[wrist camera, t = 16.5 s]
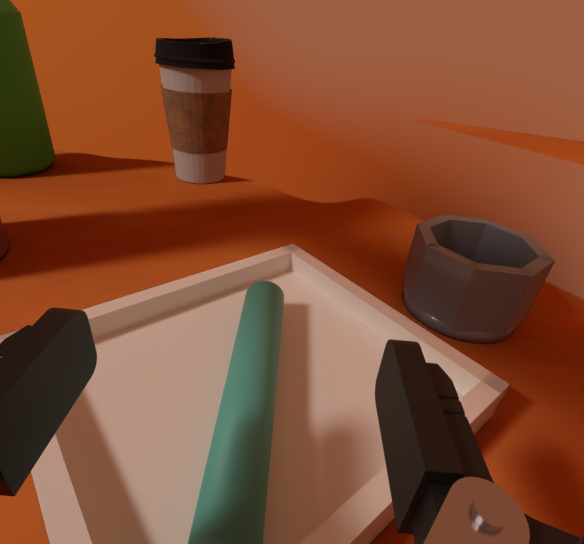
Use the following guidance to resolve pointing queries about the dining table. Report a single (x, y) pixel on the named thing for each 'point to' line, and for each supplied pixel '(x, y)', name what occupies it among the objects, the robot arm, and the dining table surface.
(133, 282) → the dining table surface
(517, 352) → the dining table surface
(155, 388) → the tray
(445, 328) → the cup
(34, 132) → the bottle
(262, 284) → the green rounded rod
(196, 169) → the coffee cup
